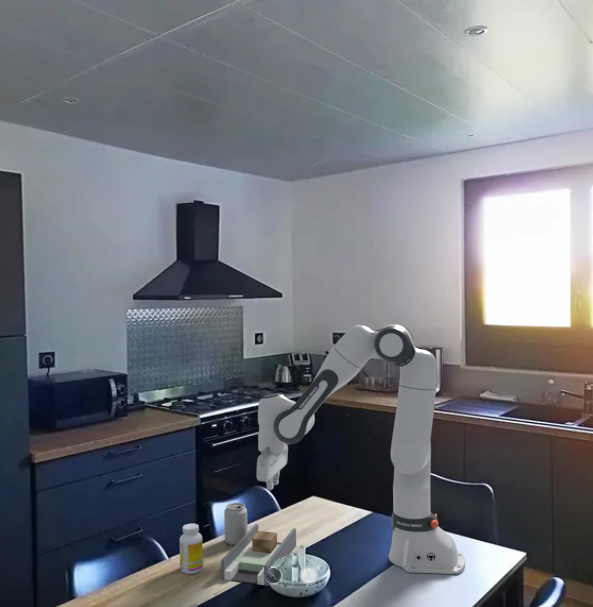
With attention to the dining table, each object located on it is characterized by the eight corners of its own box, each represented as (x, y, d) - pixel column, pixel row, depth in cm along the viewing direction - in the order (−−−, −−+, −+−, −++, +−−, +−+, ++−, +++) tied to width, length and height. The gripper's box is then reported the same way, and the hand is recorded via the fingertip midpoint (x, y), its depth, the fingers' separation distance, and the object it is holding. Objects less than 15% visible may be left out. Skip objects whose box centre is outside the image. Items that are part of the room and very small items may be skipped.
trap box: (296, 545, 191) (296, 528, 191) (267, 585, 164) (267, 565, 164) (255, 540, 195) (255, 524, 195) (221, 579, 169) (220, 560, 168)
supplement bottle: (207, 567, 176) (206, 524, 176) (194, 576, 170) (193, 532, 170) (188, 563, 179) (188, 520, 179) (175, 572, 173) (174, 528, 173)
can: (246, 546, 191) (245, 509, 190) (223, 546, 191) (222, 509, 191) (248, 536, 198) (248, 501, 198) (226, 537, 198) (225, 501, 198)
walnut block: (277, 545, 185) (277, 532, 185) (270, 553, 179) (270, 540, 179) (259, 543, 187) (259, 530, 187) (252, 551, 181) (252, 538, 181)
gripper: (270, 452, 179) (271, 498, 180) (290, 437, 199) (291, 478, 199) (251, 451, 181) (251, 496, 181) (273, 436, 201) (273, 476, 201)
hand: (272, 486), depth 190 cm, fingers open, 3 cm apart
